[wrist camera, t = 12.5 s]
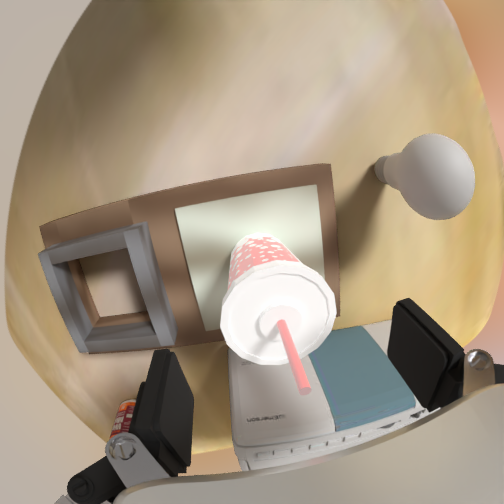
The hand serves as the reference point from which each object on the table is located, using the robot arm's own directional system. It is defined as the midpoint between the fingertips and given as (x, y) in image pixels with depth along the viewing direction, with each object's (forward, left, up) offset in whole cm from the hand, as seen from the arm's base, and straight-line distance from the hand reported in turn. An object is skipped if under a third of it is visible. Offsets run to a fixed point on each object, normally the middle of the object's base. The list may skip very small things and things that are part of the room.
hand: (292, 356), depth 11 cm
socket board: (+1, -6, -15) cm, 16 cm away
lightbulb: (-5, +13, -15) cm, 20 cm away
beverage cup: (0, 0, -13) cm, 13 cm away
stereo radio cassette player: (+13, +6, -15) cm, 21 cm away
